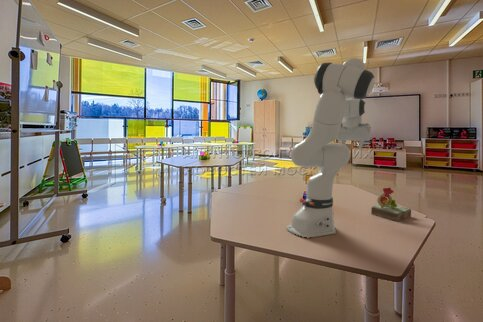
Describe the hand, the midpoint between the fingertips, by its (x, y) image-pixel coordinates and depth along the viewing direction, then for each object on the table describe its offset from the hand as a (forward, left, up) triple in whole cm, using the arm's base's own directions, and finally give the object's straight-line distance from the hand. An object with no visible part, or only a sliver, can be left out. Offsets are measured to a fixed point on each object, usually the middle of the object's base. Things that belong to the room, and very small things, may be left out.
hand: (352, 148), depth 141 cm
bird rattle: (+4, -18, -30) cm, 36 cm away
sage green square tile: (+6, -20, -34) cm, 40 cm away
